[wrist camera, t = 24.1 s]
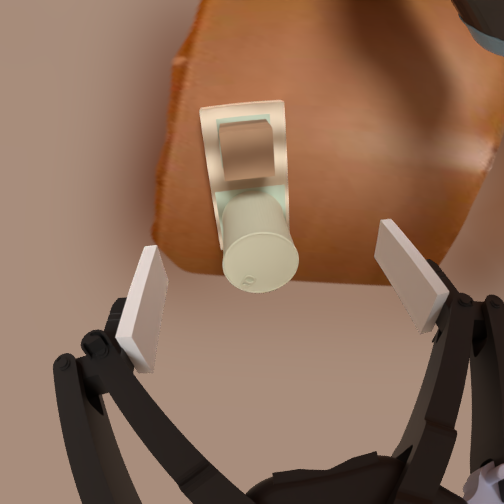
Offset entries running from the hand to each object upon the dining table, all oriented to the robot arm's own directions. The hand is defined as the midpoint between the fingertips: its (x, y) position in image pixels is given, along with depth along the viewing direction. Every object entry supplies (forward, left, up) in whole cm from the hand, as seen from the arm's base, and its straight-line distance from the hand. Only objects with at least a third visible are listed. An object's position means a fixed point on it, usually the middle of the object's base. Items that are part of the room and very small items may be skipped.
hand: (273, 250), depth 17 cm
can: (+12, 0, -26) cm, 28 cm away
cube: (0, 0, -26) cm, 26 cm away
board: (+6, 0, -29) cm, 29 cm away
